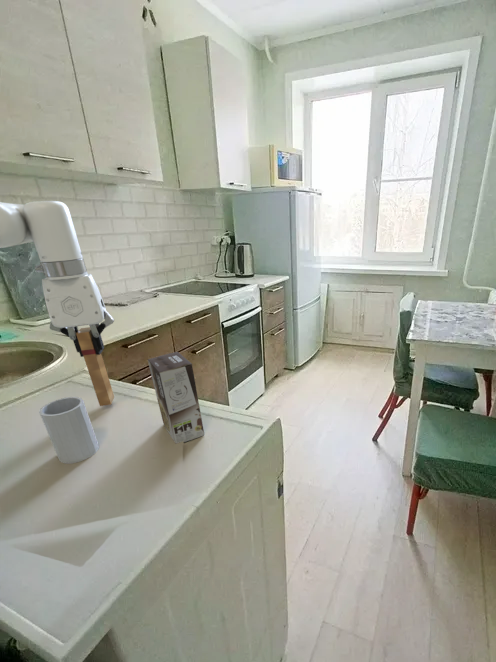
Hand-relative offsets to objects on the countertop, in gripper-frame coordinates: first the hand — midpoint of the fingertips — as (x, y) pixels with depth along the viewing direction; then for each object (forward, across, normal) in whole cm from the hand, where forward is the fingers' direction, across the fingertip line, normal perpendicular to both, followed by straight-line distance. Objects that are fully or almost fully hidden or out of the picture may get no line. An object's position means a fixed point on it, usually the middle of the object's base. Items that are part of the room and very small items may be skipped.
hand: (92, 353), depth 80 cm
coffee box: (+14, +18, -16) cm, 28 cm away
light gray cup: (+14, -2, -19) cm, 24 cm away
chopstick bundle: (+13, 0, 0) cm, 13 cm away
